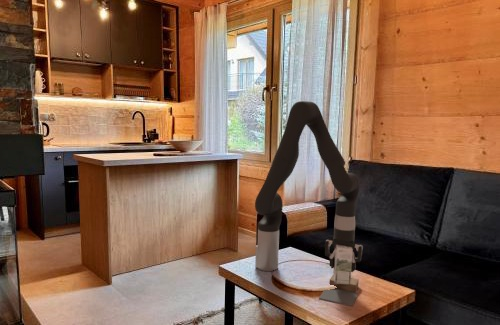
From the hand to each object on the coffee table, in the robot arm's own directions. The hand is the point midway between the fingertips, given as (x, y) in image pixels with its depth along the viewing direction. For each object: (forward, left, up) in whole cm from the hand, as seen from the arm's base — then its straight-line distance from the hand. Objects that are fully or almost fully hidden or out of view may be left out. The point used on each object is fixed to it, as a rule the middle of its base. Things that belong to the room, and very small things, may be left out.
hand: (342, 269), depth 139 cm
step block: (0, +4, -9) cm, 10 cm away
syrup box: (0, 0, -5) cm, 5 cm away
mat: (0, -5, -9) cm, 10 cm away
